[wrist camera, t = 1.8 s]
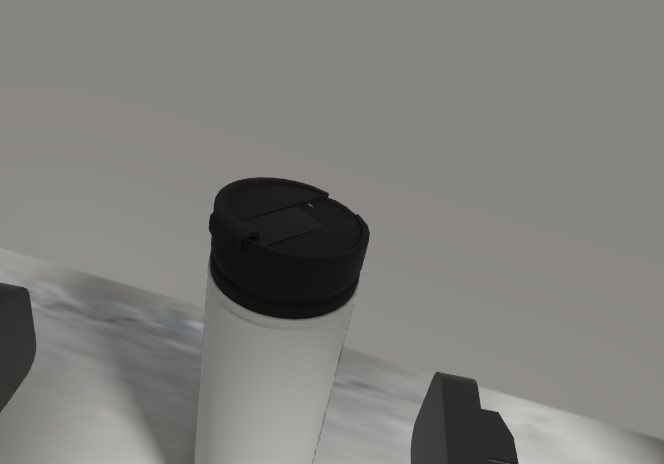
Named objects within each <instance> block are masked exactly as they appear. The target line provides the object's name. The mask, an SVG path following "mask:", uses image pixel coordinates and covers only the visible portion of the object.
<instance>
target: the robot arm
mask: <svg viewBox="0 0 664 464" xmlns="http://www.w3.org/2000/svg"><path fill="white" fill-rule="evenodd" d="M35 353H36V338H35V331H34V324H33V316H32V309H31V302H30V295H29V292H28V290H27V289H26V288H24V287H19V286H14V285H9V284H4V283H0V413H1V411H2V410H3V408H4V407H5V406H6V404H7V403H8V401H9V400H10V398H11V397H12V396H13V394H14V393H15V391H16V390H17V389H18V387H19V386H20V384H21V383H22V381H23V380H24V379H25V377H26V376H27V374H28V372H29V370H30V368H31V366H32V363H33V361H34V357H35ZM411 464H518V458H517V453H516V448H515V443H514V438H513V436H512V434H511V432H510V431H509V429H508V427H507V426H506V424H505V423H504V421H503V419H502V418H501V416H500V414H499V413H498V412H494V411H489V410H484V409H481V405H480V398H479V391H478V386H477V383H476V381H475V380H474V379H470V378H465V377H460V376H455V375H450V374H445V373H440V372H436V373H435V375H434V377H433V379H432V381H431V384H430V386H429V389H428V391H427V394H426V396H425V399H424V401H423V404H422V406H421V409H420V411H419V414H418V416H417V419H416V421H415V425H414V429H413V434H412V441H411Z"/></svg>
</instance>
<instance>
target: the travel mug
mask: <svg viewBox="0 0 664 464" xmlns="http://www.w3.org/2000/svg"><path fill="white" fill-rule="evenodd" d="M328 195H329V194H328V193H327V192H325V191H322V190H320V189H318V188H316V187H314V186H311V185H308V184H304V183H300V182H296V181H291V180H287V179H279V178H262V177H261V178H248V179H243V180H238V181H236V182H233V183H230V184H228V185H226V186H225V187H224V188H222V189H221V190H220V191H219V193H218V194H217V196H216V197H215V202H214V212H213V213H212V214H211V216H210V221H209V231H210V233H211V235H212V239H211V254H210V258H209V264H208V279H207V289H206V303H205V317H204V331H203V345H202V359H201V373H200V388H199V402H198V416H197V430H196V444H195V458H194V464H313V460H314V456H315V453H316V449H317V445H318V441H319V437H320V433H321V429H322V426H323V422H324V418H325V414H326V410H327V406H328V402H329V398H330V395H331V391H332V387H333V383H334V379H335V375H336V371H337V368H338V364H339V360H340V356H341V352H342V348H343V344H344V341H345V336H346V332H347V329H348V325H349V321H350V317H351V313H352V310H353V306H354V300H355V297H356V294H357V290H358V284H359V276H360V271H361V269H362V265H363V261H364V257H365V253H366V249H367V246H368V242H369V235H370V232H369V229H368V225H367V224H366V223H365V222H364V220H363V219H362V218H361V217H360V216H359V215H358V214H357V215H355V214H354V213H353V212H352V211H350V210H349V209H348V208H347V207H346V206H344V205H342V204H340V203H339V202H337V201H336V200H333V199H330V198H328Z"/></svg>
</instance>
